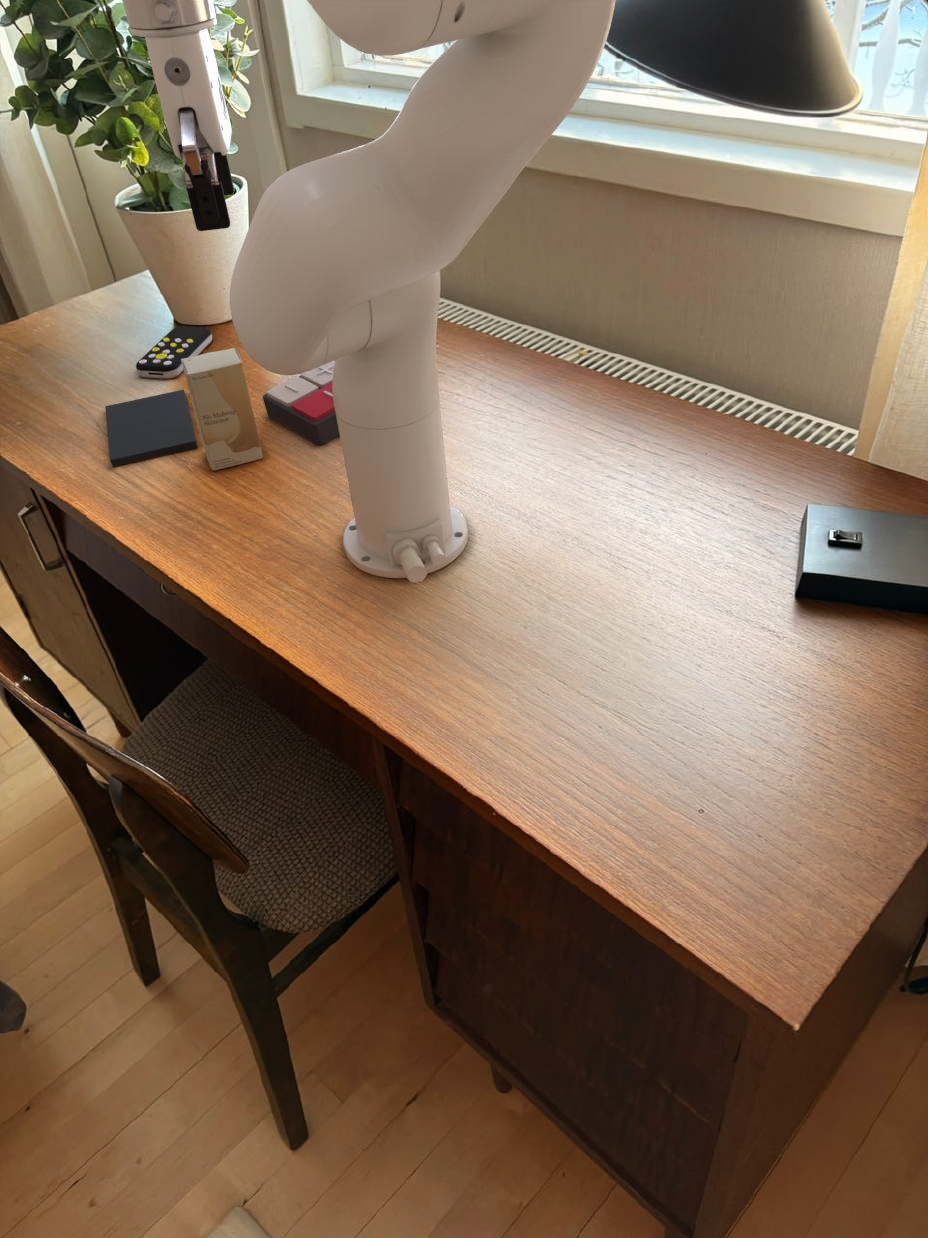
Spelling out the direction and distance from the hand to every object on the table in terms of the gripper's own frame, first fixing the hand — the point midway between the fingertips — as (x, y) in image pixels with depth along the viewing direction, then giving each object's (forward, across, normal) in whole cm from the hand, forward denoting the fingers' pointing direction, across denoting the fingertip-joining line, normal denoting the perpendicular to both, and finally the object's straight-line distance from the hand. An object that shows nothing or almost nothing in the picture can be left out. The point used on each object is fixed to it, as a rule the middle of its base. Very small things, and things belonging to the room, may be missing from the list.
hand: (216, 211), depth 93 cm
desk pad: (+27, +8, +15) cm, 32 cm away
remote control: (+28, +28, +13) cm, 41 cm away
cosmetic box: (+27, -1, +4) cm, 28 cm away
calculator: (+27, +7, -9) cm, 29 cm away
